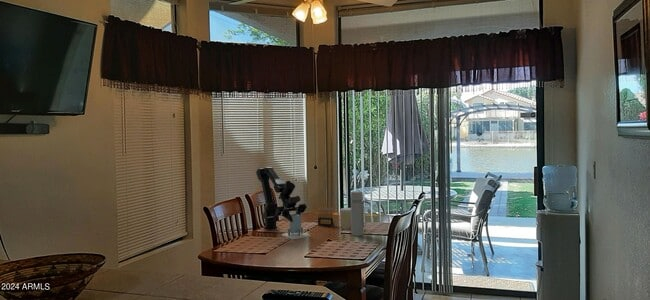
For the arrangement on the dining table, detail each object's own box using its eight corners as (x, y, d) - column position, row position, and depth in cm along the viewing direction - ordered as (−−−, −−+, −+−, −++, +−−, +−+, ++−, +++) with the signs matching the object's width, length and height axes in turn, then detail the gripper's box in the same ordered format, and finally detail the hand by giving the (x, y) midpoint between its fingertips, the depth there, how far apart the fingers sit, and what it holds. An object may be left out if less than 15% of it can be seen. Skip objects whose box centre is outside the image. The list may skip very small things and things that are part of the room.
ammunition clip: (334, 225, 309) (333, 207, 309) (333, 226, 307) (332, 207, 307) (318, 224, 313) (318, 206, 312) (317, 225, 311) (317, 206, 311)
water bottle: (348, 235, 276) (348, 192, 275) (354, 233, 283) (353, 191, 282) (363, 237, 272) (362, 193, 271) (369, 234, 279) (368, 191, 278)
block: (289, 232, 279) (289, 214, 279) (297, 231, 282) (296, 214, 282) (293, 233, 275) (293, 216, 275) (301, 232, 278) (301, 215, 278)
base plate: (281, 236, 280) (281, 228, 280) (299, 233, 287) (299, 225, 287) (291, 239, 270) (291, 231, 270) (309, 236, 277) (309, 228, 277)
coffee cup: (358, 227, 300) (357, 208, 299) (348, 230, 293) (348, 210, 293) (346, 226, 306) (346, 207, 306) (337, 228, 299) (336, 209, 299)
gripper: (276, 192, 276) (286, 214, 267) (304, 190, 286) (315, 210, 277) (271, 204, 283) (280, 226, 274) (298, 201, 293) (308, 222, 284)
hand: (296, 221), depth 277 cm, fingers closed on block, 5 cm apart
